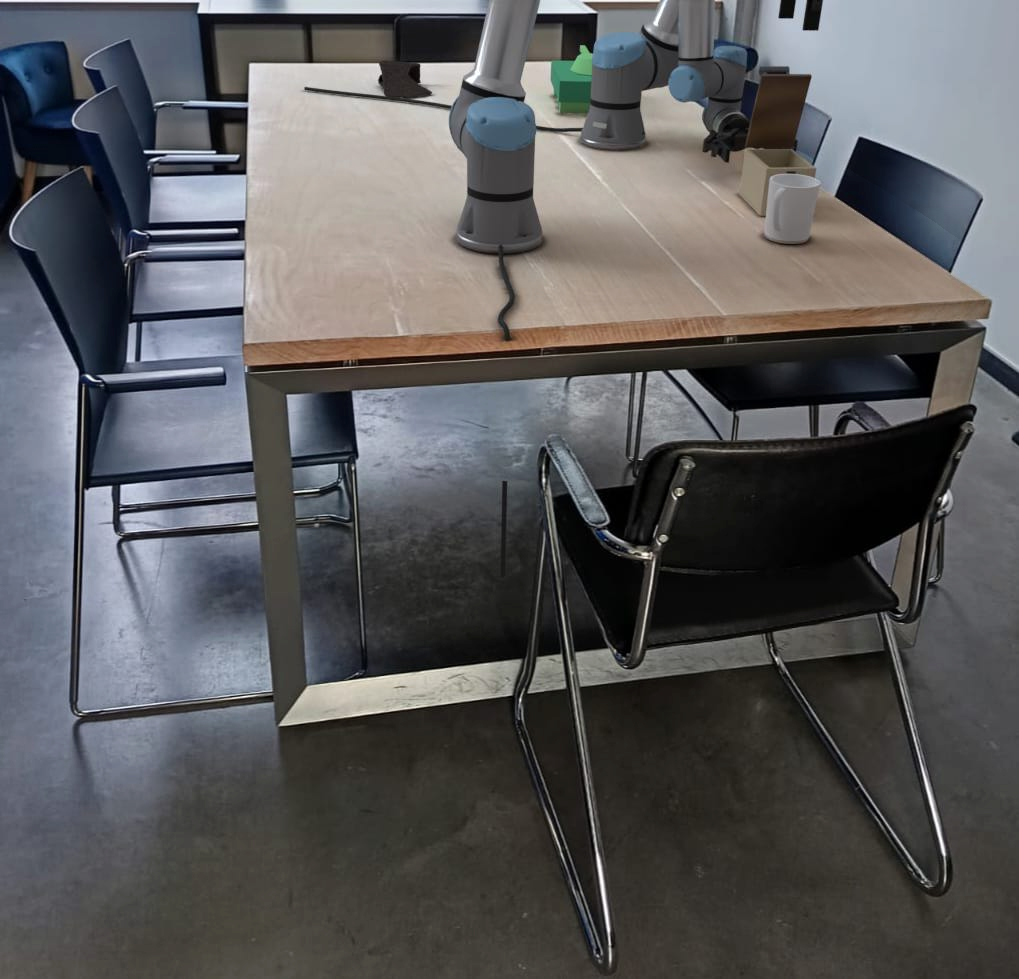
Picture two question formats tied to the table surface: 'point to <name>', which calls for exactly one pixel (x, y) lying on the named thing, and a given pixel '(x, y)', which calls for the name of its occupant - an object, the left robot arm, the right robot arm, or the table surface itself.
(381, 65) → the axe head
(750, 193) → the chest
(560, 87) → the toy tank
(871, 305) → the table surface
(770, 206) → the mug
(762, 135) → the lid
